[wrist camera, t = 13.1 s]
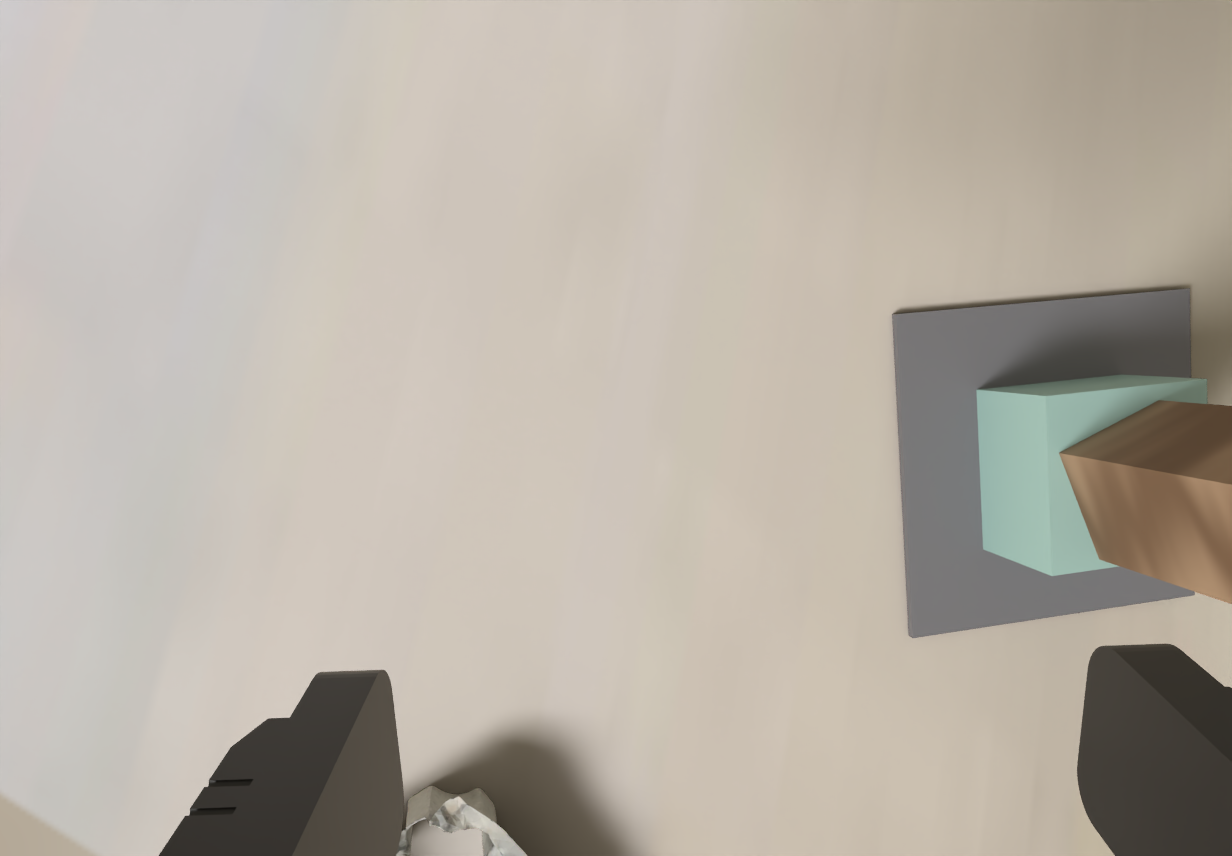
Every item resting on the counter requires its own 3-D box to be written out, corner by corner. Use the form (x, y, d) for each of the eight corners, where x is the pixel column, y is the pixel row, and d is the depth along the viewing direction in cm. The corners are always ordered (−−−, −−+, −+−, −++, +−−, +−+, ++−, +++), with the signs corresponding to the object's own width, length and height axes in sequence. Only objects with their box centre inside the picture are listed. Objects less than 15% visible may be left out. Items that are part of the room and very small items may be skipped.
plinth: (976, 389, 34) (1045, 396, 30) (1121, 374, 35) (1207, 378, 31) (983, 549, 34) (1051, 576, 31) (1125, 529, 35) (1209, 553, 32)
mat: (892, 314, 33) (896, 314, 33) (1183, 288, 35) (1189, 288, 35) (908, 635, 35) (912, 638, 34) (1188, 592, 37) (1194, 595, 36)
